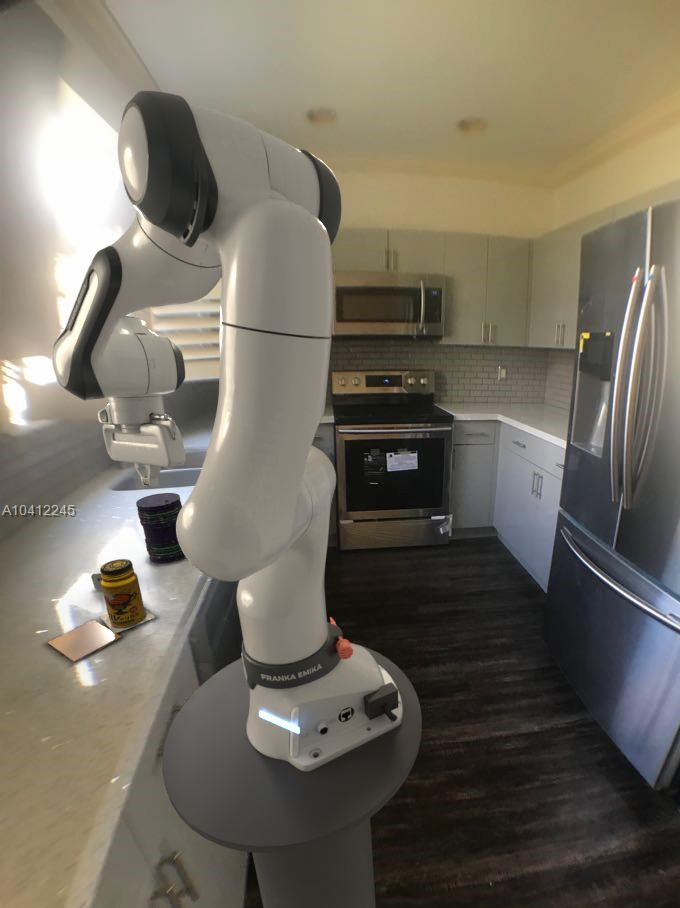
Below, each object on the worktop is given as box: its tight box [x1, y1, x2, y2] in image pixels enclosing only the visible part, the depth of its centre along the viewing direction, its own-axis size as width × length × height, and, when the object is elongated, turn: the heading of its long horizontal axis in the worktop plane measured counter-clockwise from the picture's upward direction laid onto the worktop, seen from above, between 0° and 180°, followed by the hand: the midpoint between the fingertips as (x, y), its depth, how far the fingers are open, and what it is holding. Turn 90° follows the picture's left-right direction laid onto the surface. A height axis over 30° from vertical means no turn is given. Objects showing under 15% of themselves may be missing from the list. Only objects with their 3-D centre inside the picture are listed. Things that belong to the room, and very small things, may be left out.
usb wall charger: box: [90, 564, 103, 591], centre depth 103 cm, size 4×7×4 cm, turn 11°
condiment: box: [99, 558, 156, 634], centre depth 88 cm, size 7×8×12 cm
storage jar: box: [135, 492, 187, 565], centre depth 112 cm, size 10×10×15 cm
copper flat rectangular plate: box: [47, 619, 122, 663], centre depth 83 cm, size 8×10×1 cm
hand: (151, 486), depth 88 cm, fingers closed
